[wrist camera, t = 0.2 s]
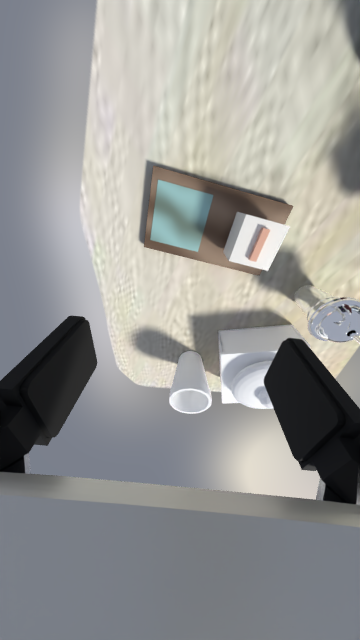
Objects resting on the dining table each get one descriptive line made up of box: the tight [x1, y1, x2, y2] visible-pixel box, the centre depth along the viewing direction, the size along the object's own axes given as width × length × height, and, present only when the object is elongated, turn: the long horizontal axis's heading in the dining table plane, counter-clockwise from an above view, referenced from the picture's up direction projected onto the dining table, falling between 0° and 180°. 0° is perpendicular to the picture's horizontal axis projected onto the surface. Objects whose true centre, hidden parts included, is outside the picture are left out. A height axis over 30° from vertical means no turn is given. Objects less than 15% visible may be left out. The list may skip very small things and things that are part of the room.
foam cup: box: [170, 351, 212, 414], centre depth 46 cm, size 10×9×13 cm
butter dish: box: [218, 324, 310, 409], centre depth 43 cm, size 18×18×16 cm
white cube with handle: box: [223, 212, 290, 271], centre depth 29 cm, size 6×6×7 cm
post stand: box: [144, 166, 293, 276], centre depth 30 cm, size 12×23×8 cm, turn 77°
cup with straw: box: [294, 285, 360, 344], centre depth 31 cm, size 8×9×20 cm
